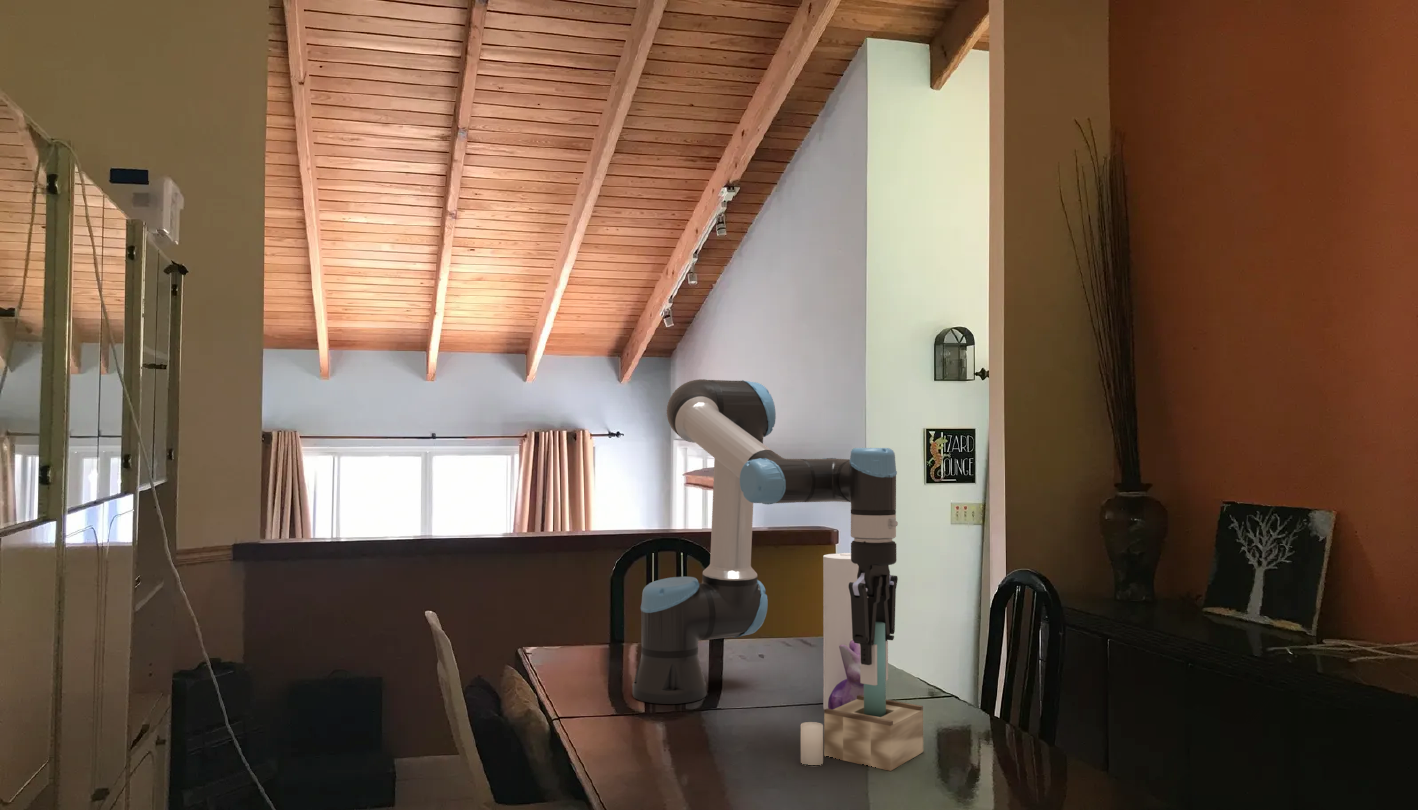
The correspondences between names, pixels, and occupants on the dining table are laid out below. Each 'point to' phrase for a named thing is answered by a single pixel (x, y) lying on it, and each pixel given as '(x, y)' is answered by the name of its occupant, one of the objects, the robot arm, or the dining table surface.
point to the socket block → (874, 734)
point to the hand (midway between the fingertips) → (874, 681)
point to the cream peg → (812, 743)
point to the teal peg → (877, 693)
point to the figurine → (848, 677)
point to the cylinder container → (836, 617)
